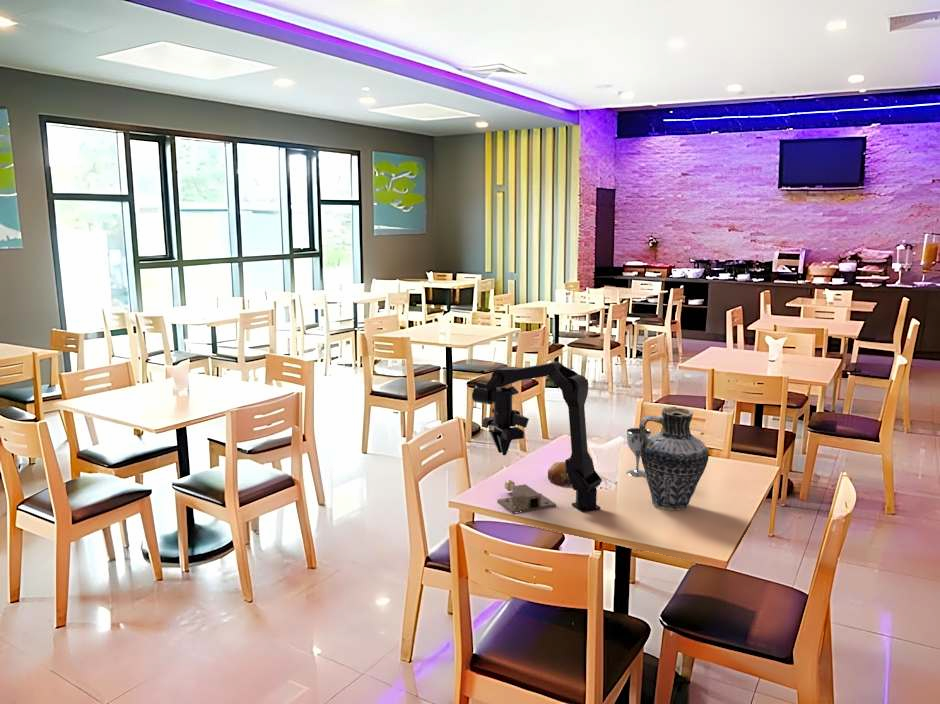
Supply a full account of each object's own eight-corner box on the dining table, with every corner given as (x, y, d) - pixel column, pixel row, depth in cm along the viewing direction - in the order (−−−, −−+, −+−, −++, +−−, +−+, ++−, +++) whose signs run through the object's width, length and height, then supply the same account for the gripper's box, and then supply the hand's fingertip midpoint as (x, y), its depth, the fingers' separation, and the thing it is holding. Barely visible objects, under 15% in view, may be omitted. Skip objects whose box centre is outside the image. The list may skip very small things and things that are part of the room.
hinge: (555, 506, 229) (556, 492, 228) (512, 513, 223) (512, 499, 222) (539, 495, 238) (540, 482, 237) (497, 502, 232) (497, 488, 231)
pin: (531, 501, 231) (531, 491, 230) (521, 503, 230) (521, 493, 229) (513, 489, 241) (513, 479, 241) (504, 490, 240) (504, 480, 240)
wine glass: (631, 478, 255) (633, 434, 252) (621, 470, 262) (623, 428, 260) (653, 476, 256) (655, 433, 254) (642, 469, 264) (644, 427, 262)
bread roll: (576, 488, 256) (577, 464, 258) (578, 484, 246) (578, 460, 248) (547, 486, 257) (547, 463, 259) (547, 483, 247) (548, 459, 249)
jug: (685, 492, 241) (690, 400, 236) (717, 515, 222) (724, 416, 217) (624, 497, 237) (628, 403, 232) (652, 521, 218) (657, 419, 213)
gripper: (539, 410, 236) (538, 459, 239) (512, 398, 253) (511, 443, 255) (507, 414, 231) (506, 463, 234) (482, 401, 248) (481, 447, 251)
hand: (502, 453), depth 244 cm, fingers open, 3 cm apart
